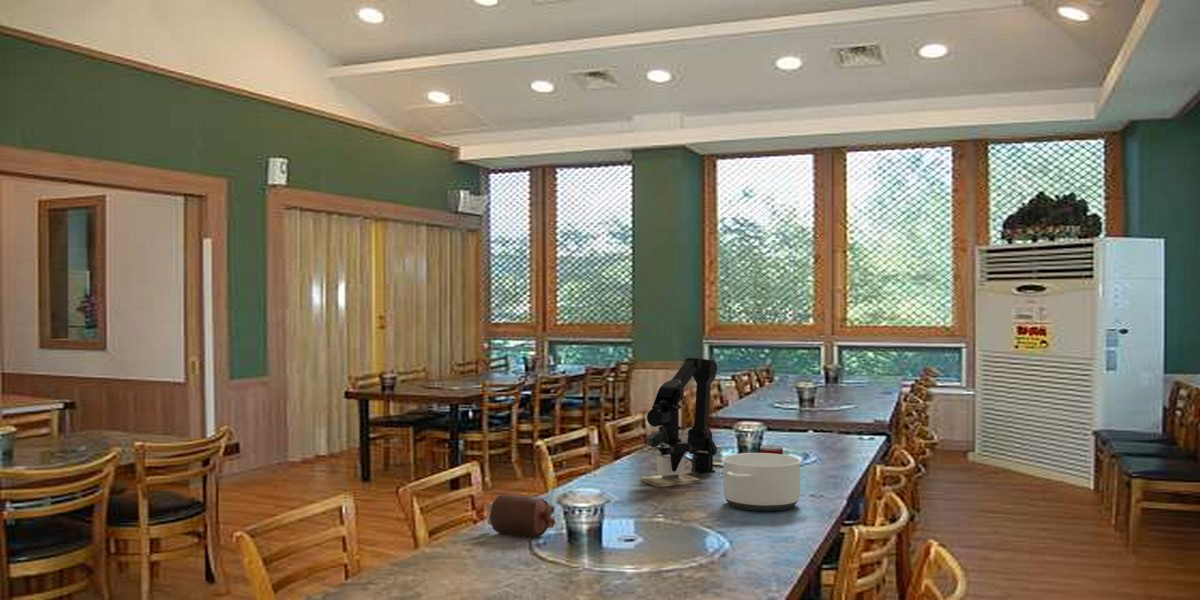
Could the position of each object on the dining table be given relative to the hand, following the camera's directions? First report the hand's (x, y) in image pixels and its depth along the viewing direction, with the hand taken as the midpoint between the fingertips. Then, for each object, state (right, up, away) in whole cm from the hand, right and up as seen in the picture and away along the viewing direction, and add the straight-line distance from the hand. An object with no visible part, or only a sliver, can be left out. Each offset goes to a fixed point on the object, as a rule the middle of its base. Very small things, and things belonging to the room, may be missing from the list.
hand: (670, 470), depth 314 cm
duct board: (0, -4, 0) cm, 4 cm away
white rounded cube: (0, -1, 0) cm, 1 cm away
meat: (-44, -4, -71) cm, 83 cm away
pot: (+24, -4, -37) cm, 44 cm away
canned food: (+34, -4, +4) cm, 35 cm away
